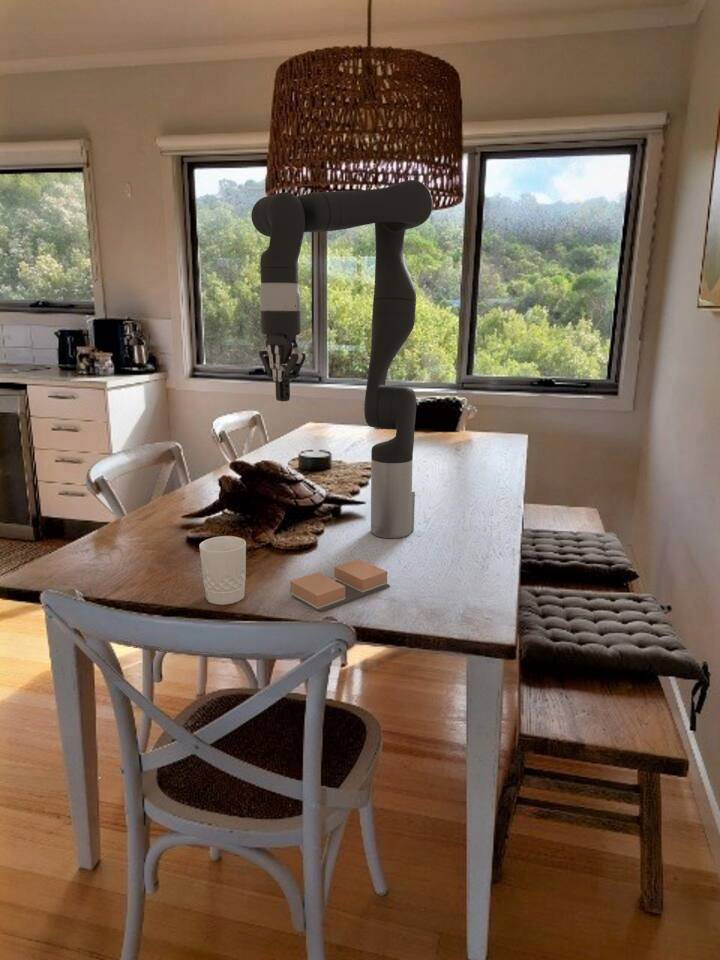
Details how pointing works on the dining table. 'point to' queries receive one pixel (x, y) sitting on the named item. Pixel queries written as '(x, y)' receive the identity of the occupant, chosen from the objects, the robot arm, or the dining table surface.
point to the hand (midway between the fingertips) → (282, 400)
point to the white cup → (223, 569)
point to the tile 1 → (317, 590)
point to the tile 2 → (360, 575)
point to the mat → (347, 596)
